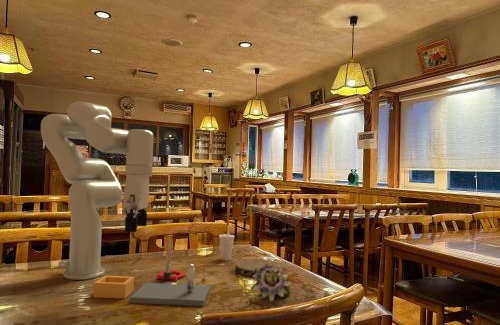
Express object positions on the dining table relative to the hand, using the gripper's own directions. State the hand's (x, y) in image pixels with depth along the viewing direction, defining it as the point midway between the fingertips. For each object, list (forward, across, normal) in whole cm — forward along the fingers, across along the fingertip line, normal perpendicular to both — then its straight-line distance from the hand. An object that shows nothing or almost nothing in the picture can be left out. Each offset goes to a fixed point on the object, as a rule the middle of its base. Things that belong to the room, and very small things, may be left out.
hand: (136, 228), depth 104 cm
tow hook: (+19, -15, +8) cm, 25 cm away
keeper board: (+18, +3, +12) cm, 22 cm away
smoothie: (+19, -39, +25) cm, 50 cm away
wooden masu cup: (+18, +3, -5) cm, 19 cm away
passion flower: (+18, +1, +40) cm, 44 cm away
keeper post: (+17, +4, +17) cm, 24 cm away
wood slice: (+19, -24, +38) cm, 48 cm away
